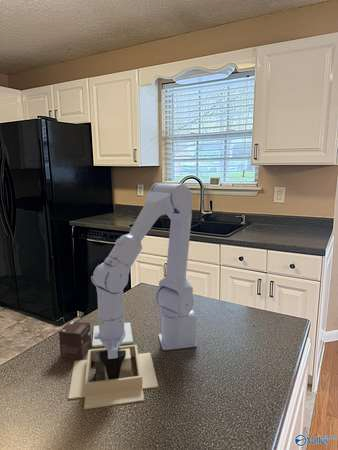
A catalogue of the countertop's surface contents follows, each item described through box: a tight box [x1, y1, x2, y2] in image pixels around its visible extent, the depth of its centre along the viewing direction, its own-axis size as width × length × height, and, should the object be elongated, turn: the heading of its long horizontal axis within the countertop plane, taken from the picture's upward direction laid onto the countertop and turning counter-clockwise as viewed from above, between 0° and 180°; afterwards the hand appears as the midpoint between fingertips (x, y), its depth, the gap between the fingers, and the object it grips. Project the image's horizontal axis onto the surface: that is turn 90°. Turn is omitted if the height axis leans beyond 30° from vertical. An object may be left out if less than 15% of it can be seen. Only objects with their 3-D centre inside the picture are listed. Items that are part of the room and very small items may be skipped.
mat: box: [91, 321, 134, 349], centre depth 92 cm, size 11×11×1 cm
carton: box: [67, 344, 159, 410], centre depth 75 cm, size 19×20×3 cm
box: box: [58, 320, 92, 361], centre depth 83 cm, size 6×6×7 cm
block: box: [94, 348, 132, 381], centre depth 74 cm, size 8×4×5 cm, turn 101°
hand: (113, 368), depth 75 cm, fingers open, 7 cm apart
